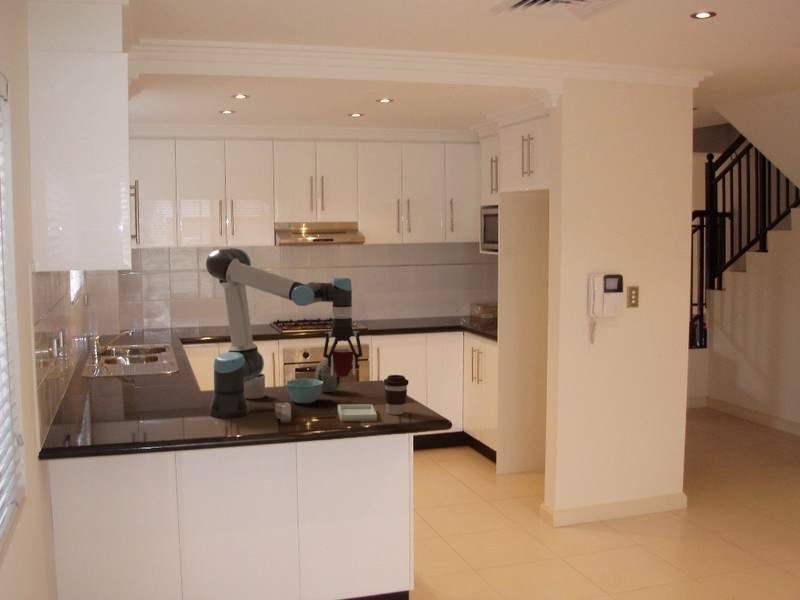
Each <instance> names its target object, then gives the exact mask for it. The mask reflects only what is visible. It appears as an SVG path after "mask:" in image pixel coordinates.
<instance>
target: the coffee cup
mask: <svg viewBox="0 0 800 600" xmlns="http://www.w3.org/2000/svg"><path fill="white" fill-rule="evenodd" d="M383 384H384V385H385V388H384V399H385V406H386V408H385V409H386V410H385V411H386V414H389V415H395V416H396V415H397V416H398V415H400V416H401V415H403V414H405V408H406V403H407V393H408V389H407V386H408V385H409V380H408V379H406V377H405V375H400V374H391V375H390V374H389V375H387V377H386V378H384V379H383Z"/></svg>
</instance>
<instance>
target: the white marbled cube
mask: <svg viewBox="0 0 800 600" xmlns="http://www.w3.org/2000/svg"><path fill="white" fill-rule="evenodd" d="M274 405H275V406H274V416H275V418H277V419H280V408H281V405H291V404H290V403H289V402H276V403H275V404H274Z"/></svg>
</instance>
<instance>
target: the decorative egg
mask: <svg viewBox="0 0 800 600" xmlns="http://www.w3.org/2000/svg"><path fill="white" fill-rule="evenodd" d="M315 368H316V369H315V372H314V379H316V380H320V381H322V382H323V385H322V388H321V391H322V392H324V393H332V392H334V391H336V390H338V388H339V387H340V385H341V382H342V377H340V376H337V374H336V372H335V369H334V363H333V376H331V367H328V359H327V358H325V359H323V360H321V361H320V362H319V363H318V364H317V366H316V367H315Z"/></svg>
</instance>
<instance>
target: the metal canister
mask: <svg viewBox="0 0 800 600" xmlns="http://www.w3.org/2000/svg"><path fill="white" fill-rule="evenodd" d="M279 422H280V423H284V424H285V423H287V424H288V423H291V422H292V405H291V404H290V405H281V408H280V421H279Z"/></svg>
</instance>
